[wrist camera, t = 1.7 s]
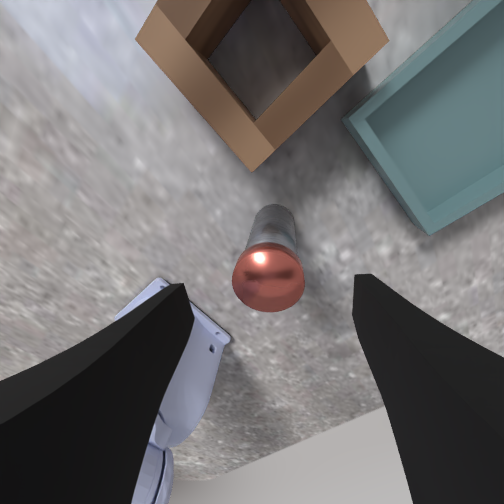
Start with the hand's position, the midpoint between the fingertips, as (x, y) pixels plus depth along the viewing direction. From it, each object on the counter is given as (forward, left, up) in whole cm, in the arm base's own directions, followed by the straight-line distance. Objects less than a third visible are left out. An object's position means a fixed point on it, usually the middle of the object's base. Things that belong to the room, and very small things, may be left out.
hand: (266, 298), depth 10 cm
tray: (-2, -13, -9) cm, 16 cm away
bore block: (+8, -6, -9) cm, 14 cm away
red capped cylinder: (0, 0, -9) cm, 9 cm away
